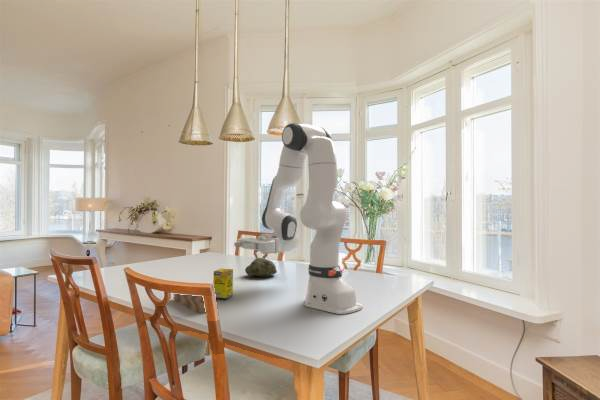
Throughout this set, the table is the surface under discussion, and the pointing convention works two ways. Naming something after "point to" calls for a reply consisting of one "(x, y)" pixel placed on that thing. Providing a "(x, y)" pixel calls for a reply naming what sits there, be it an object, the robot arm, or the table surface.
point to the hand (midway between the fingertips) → (239, 245)
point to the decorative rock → (261, 268)
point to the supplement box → (223, 283)
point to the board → (191, 302)
